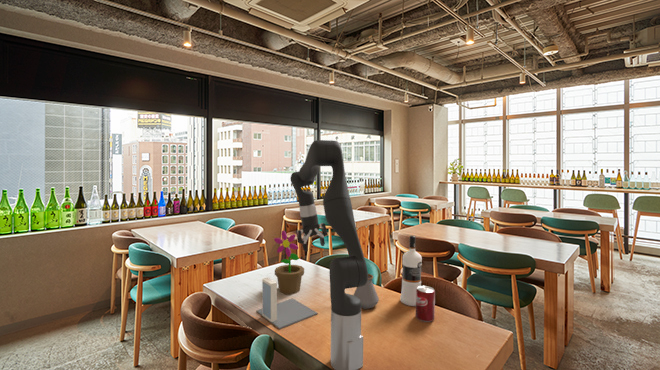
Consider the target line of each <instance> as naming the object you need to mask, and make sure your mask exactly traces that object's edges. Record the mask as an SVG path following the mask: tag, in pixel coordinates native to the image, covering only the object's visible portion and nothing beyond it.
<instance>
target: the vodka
mask: <svg viewBox="0 0 660 370" xmlns="http://www.w3.org/2000/svg"><path fill="white" fill-rule="evenodd" d="M416 240H417V239H416V235H410V236H409V250H408V251H405V252H404V253H403V255H402V261H401V262H402V276H401V277H402V278H401V293H400V299H399V300H400V302H401V303H403V304H404V305H405V306H407V307H416V288H417V287H419V286H422V265H423V263H422V261H423V257H422V255H421V254H420V253H419V252H418V251H416Z"/></svg>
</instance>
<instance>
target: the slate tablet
mask: <svg viewBox="0 0 660 370" xmlns="http://www.w3.org/2000/svg"><path fill="white" fill-rule="evenodd" d="M261 281H262V284H261V285H262V289H261V290H262V292H261V293H262V296H261V297H262V301H261V302H262V308H263V316H264V317H265V318H267V319H268V320H269V321H271V322H273V321H276V320H277V303H278V281H275V280H273V279H271V278H269V277H264V278H262V280H261ZM263 316H262V317H263ZM264 317H263V318H264ZM265 318H264V319H265ZM267 319H266V320H267ZM268 320H267V321H268ZM271 322H270V323H271Z"/></svg>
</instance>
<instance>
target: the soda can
mask: <svg viewBox="0 0 660 370" xmlns="http://www.w3.org/2000/svg"><path fill="white" fill-rule="evenodd" d="M435 304H436V291H435V289H434V287H431V286H427V285H421V286H419V287H417V288H416V306H415V317H416V319H417V320H419V321H420V322H423V323H424V322H425V323H430V322H432V321H434V320H435V308H436V305H435Z"/></svg>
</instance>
